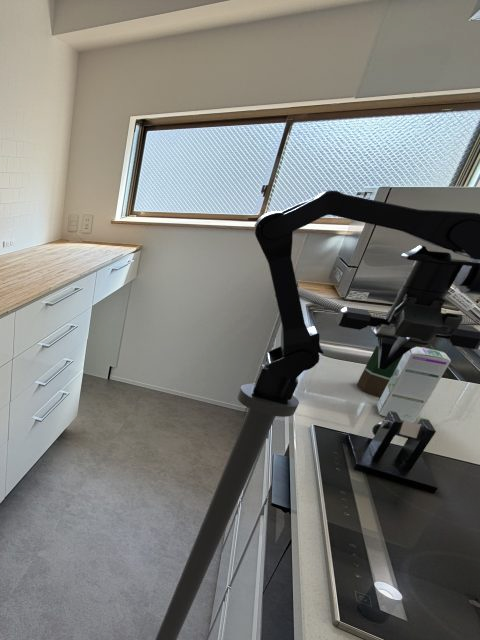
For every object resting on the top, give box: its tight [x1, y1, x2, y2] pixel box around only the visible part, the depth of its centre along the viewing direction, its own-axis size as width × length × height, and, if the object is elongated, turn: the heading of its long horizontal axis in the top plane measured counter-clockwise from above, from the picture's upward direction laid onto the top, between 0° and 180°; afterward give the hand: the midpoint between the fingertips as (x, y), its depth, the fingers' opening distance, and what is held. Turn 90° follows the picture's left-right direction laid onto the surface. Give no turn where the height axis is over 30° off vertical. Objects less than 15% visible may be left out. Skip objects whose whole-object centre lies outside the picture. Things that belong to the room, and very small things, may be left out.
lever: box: [371, 420, 421, 439], centre depth 73 cm, size 12×3×3 cm, turn 147°
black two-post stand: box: [344, 411, 439, 494], centre depth 70 cm, size 12×10×9 cm
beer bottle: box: [356, 334, 428, 398], centre depth 93 cm, size 8×8×24 cm
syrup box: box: [376, 347, 452, 423], centre depth 85 cm, size 6×6×14 cm
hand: (381, 368), depth 79 cm, fingers closed
